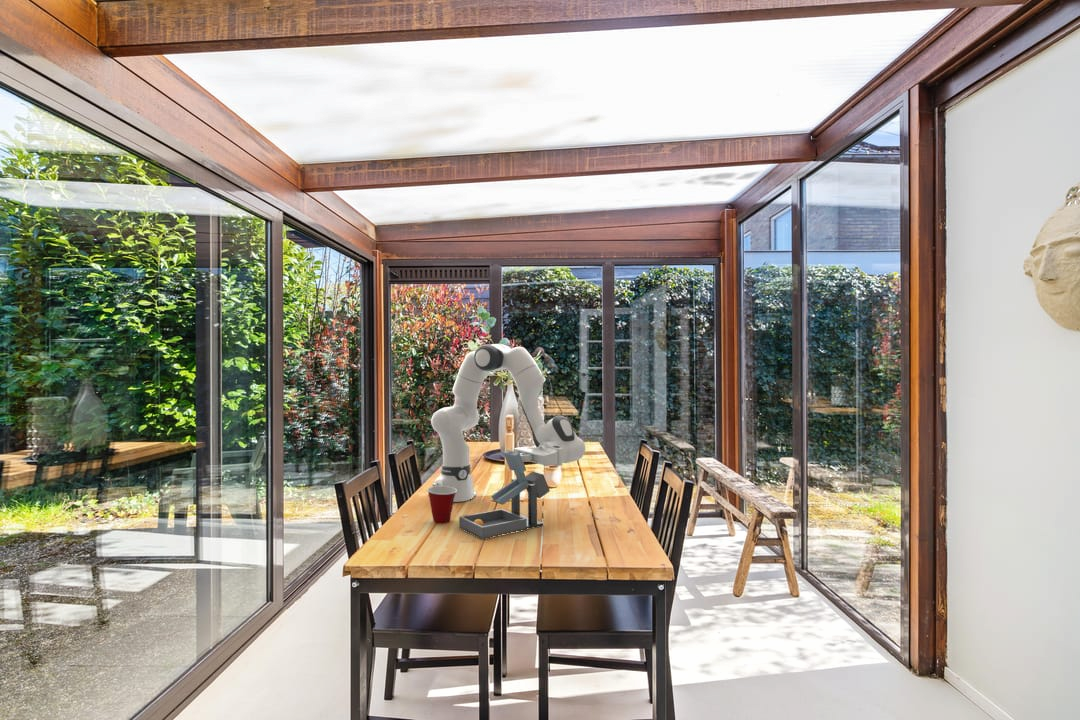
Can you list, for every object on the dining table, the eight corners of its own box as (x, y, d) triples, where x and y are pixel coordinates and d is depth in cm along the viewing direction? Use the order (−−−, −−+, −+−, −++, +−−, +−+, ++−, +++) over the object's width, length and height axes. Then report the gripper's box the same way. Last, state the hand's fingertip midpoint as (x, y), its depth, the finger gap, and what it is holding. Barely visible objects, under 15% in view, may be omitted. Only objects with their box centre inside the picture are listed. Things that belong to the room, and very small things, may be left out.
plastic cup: (451, 526, 207) (451, 492, 207) (422, 524, 210) (422, 491, 209) (461, 518, 218) (461, 485, 218) (433, 516, 220) (433, 484, 220)
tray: (459, 528, 206) (459, 516, 205) (502, 519, 216) (502, 508, 216) (482, 539, 192) (482, 527, 192) (526, 530, 203) (526, 518, 203)
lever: (498, 515, 210) (478, 468, 205) (537, 487, 220) (519, 441, 215) (510, 520, 203) (490, 471, 199) (551, 491, 213) (532, 444, 209)
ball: (472, 517, 202) (481, 518, 203) (469, 527, 201) (478, 529, 203) (477, 519, 199) (486, 521, 201) (474, 530, 198) (483, 531, 200)
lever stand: (505, 520, 215) (505, 479, 215) (521, 517, 219) (521, 477, 219) (526, 529, 204) (526, 486, 204) (543, 525, 208) (543, 484, 208)
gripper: (531, 441, 226) (501, 445, 218) (564, 448, 210) (533, 452, 202) (532, 458, 226) (501, 462, 218) (565, 466, 210) (533, 471, 202)
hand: (517, 457), depth 210 cm, fingers closed, pressing on lever
